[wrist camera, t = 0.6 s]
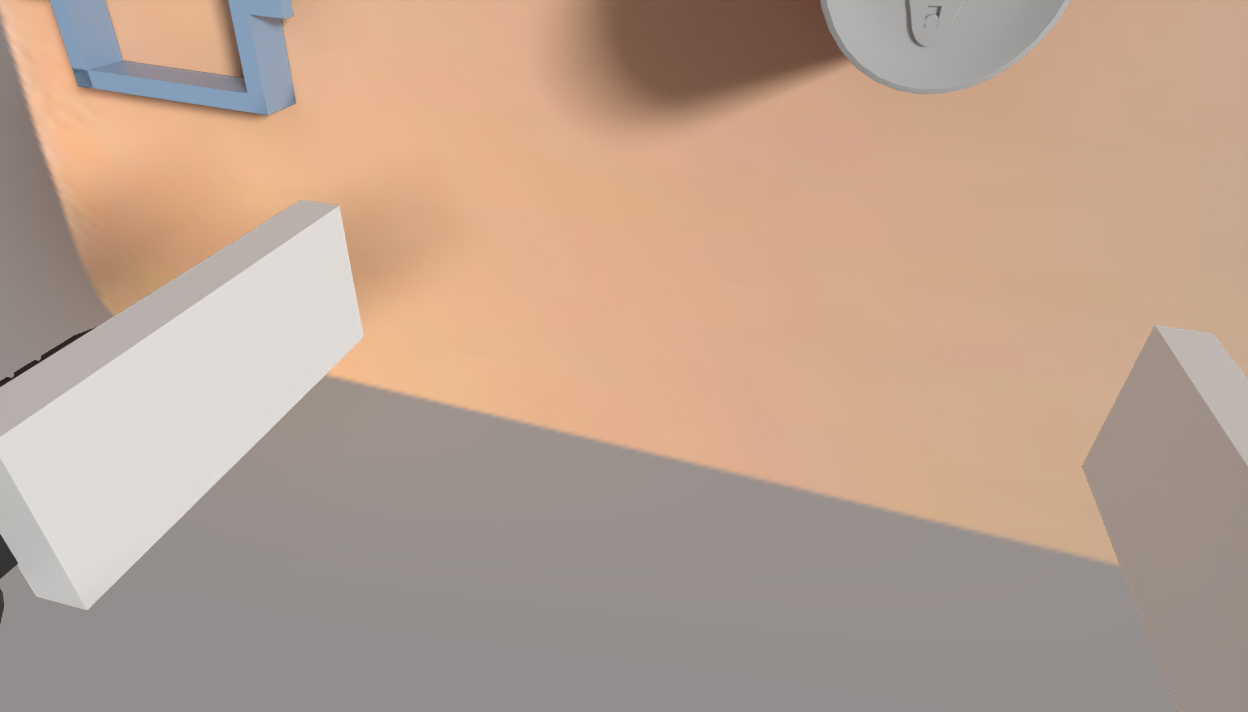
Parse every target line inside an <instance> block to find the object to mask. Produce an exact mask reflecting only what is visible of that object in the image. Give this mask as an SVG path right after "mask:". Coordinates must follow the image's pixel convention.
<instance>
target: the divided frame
mask: <svg viewBox="0 0 1248 712" xmlns="http://www.w3.org/2000/svg"><path fill="white" fill-rule="evenodd" d="M50 2H51V5H52V8H53V12H54V15H55V18H56V21H57V24H58V27H59V30H60V33H61V36H62V39H63V42H64V45H65V48H66V51H67V54H68V57H69V60H70V63H71V66H72V69H73V72H74V75H75V78H76V81H77V84H78V86H80V87H87V88H93V89H100V90H106V91H113V92H119V93H126V94H133V95H139V96H146V97H152V98H159V99H166V100H172V101H179V102H185V103H192V104H198V105H205V106H212V107H218V108H225V109H231V110H238V111H244V112H251V113H258V114H264V115H269V114H272V113H274V112H276V111H279V110H281V109H284V108H286V107H288V106H291V105H293V104H295V103H296V102H295V96H294V90H293V84H292V79H291V73H290V67H289V61H288V56H287V50H286V44H285V38H284V33H283V27H282V21H281V19H285V18H289V17H293V16H294V15H293V9H292V3H291V0H228V2H229V7H230V12H231V17H232V21H233V26H234V31H235V36H236V41H237V45H238V50H239V55H240V60H241V65H242V69H243V74H244V78H240V77H233V76H226V75H219V74H212V73H205V72H198V71H191V70H184V69H178V68H171V67H164V66H157V65H150V64H143V63H136V62H129V61H123V60H122V56H121V53H120V49H119V46H118V43H117V39H116V36H115V32H114V29H113V25H112V22H111V18H110V15H109V12H108V8H107V5H106V1H105V0H50Z"/></svg>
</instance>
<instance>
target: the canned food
mask: <svg viewBox="0 0 1248 712" xmlns="http://www.w3.org/2000/svg"><path fill="white" fill-rule="evenodd" d="M1069 2H1070V0H820V5H821V9H822V12H823V15H824V18H825V21H826V24H827V27H828V30H829V31H830V33H831V35H832V37H833V38H834V40H835V42H836V44H837V45H838V47H839V49H840V50H841V52H842V53H843V54H844V55H845V56H846V57H847V58H848V59H849V60H850V61H851V63H852V64H853V65H854V66H855V67H856V68H857V69H858V70H860V71H861V72H863V73H864V74H865V75H867V76H868V77H870V78H871V79H872V80H874V81H875V82H878V83H880V84H883V85H885V86H888V87H890V88H892V89H895V90H899V91H904V92H910V93H916V94H939V93H947V92H952V91H956V90H961V89H965V88H969V87H971V86H974V85H976V84H979V83H981V82H983V81H986V80H988V79H991V78H993V77H995V76H996V75H998V74H999V73H1001V72H1003V71H1004V70H1006V69H1007V68H1009V67H1010V66H1012V65H1014V64H1015V63H1017V62H1018V61H1019V60H1020V59H1022V58H1023V57H1024V56H1025V55H1026V54H1027V53H1028V52H1029V51H1031V50H1032V49H1033V48H1034V47H1035V46H1036V45H1037V44H1039V43H1040V42H1041V40H1042V39H1043V38H1044V37H1045V36H1046V34H1047V33H1048V32H1049V31H1050V30H1051V28H1052V27H1053V26H1054V25H1055V24H1056V22H1057V21H1058V20H1059V19H1060V17H1061V15H1062V14H1063V12H1064V10H1065V9H1066V7H1067V5H1068V4H1069Z"/></svg>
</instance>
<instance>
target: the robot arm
mask: <svg viewBox="0 0 1248 712" xmlns="http://www.w3.org/2000/svg"><path fill="white" fill-rule="evenodd" d="M363 337H364V336H363V331H362V325H361V320H360V315H359V309H358V304H357V298H356V293H355V287H354V282H353V277H352V271H351V266H350V260H349V255H348V250H347V244H346V239H345V233H344V228H343V223H342V217H341V212H340V206H339V205H332V204H325V203H319V202H312V201H305V200H300V201H298V202H296V203H295V204H293V205H292V206H290V207H288V208H287V209H285V210H284V211H282V212H280V213H279V214H277V215H276V216H274V217H272V218H271V219H269V220H268V221H266V222H264V223H263V224H261V225H260V226H258V227H256V228H255V229H253V230H252V231H250V232H248V233H247V234H245V235H244V236H242V237H240V238H239V239H237V240H235V241H234V242H232V243H231V244H229V245H227V246H226V247H224V248H223V249H221V250H219V251H218V252H216V253H215V254H213V255H211V256H210V257H208V258H207V259H205V260H203V261H202V262H200V263H199V264H197V265H195V266H194V267H192V268H191V269H189V270H187V271H186V272H184V273H183V274H181V275H179V276H178V277H176V278H175V279H173V280H171V281H170V282H168V283H167V284H165V285H163V286H162V287H160V288H159V289H157V290H155V291H154V292H152V293H151V294H149V295H147V296H146V297H144V298H143V299H141V300H139V301H138V302H136V303H135V304H133V305H131V306H130V307H128V308H126V309H125V310H123V311H122V312H120V313H118V314H117V315H115V316H114V317H112V318H110V319H109V320H108V321H106V322H104V323H102V324H101V325H99V326H98V327H95V328H93V329H90V330H87V331H85V332H82V333H80V334H77V335H74V336H73V337H71V338H69V339H68V340H66V341H65V342H63V343H61V344H60V345H58V346H56V347H55V348H53V349H52V350H50V351H48V352H47V353H45V354H44V355H42V356H41V360H40V361H37V360H34V361H32V362H31V363H29V364H27V365H26V366H24V367H22V368H21V369H19V370H18V371H16V372H14V377H13V378H9V377H6V378H5V379H3V380H1V381H0V578H2V577H3V576H4V575H5V574H6V573H7V572H9V571H10V570H11V569H12V568H13V567H14V566H16V565H17V566H18V567H19V569H20V571H21V572H22V574H23V575H24V577H25V579H26V580H27V582H28V583H29V585H30V587H31V588H32V590H33V592H34V593H35V595H36V596H37V597H41V598H45V599H48V600H52V601H55V602H59V603H63V604H66V605H70V606H74V607H77V608H81V609H85V610H88V609H89V608H90V607H91V606H92V605H93V604H94V603H95V602H96V601H97V600H98V599H99V598H100V597H101V596H102V595H103V594H104V593H105V592H106V591H107V590H108V589H109V588H110V587H111V586H112V585H113V584H114V583H115V582H116V581H117V580H118V579H119V578H120V577H121V576H122V575H123V574H124V573H125V572H126V571H127V570H128V569H129V568H130V567H131V566H132V565H133V564H134V563H135V562H136V561H137V560H138V559H139V558H140V557H141V556H142V555H143V554H144V553H145V552H146V551H147V550H148V549H149V548H150V547H151V546H152V545H154V544H155V542H157V541H158V540H159V538H160V537H162V536H163V535H164V534H165V533H166V532H167V531H168V530H169V529H170V528H171V527H172V526H173V525H174V524H175V523H176V522H177V521H178V520H179V519H180V518H181V517H182V516H183V515H184V514H185V513H186V512H187V511H188V510H189V509H190V508H191V507H192V506H193V505H194V504H195V503H196V502H197V501H198V500H199V499H200V498H201V497H202V496H203V495H204V494H205V493H206V492H207V491H208V490H209V489H210V488H211V487H212V486H213V485H214V484H215V483H216V482H217V481H218V480H219V479H220V478H221V477H222V476H223V475H224V474H225V473H226V472H227V471H228V470H229V469H230V468H231V467H232V466H234V465H235V463H236V462H237V461H238V460H239V459H241V457H243V455H244V454H246V453H247V452H248V451H249V450H250V449H251V448H252V447H253V446H254V445H255V444H256V443H257V442H258V441H259V440H260V439H261V438H262V437H263V436H264V435H265V434H266V433H267V432H268V431H269V430H270V429H271V428H272V427H273V426H274V425H275V424H276V423H277V422H278V421H279V420H280V419H281V418H282V417H283V416H284V415H285V414H286V413H287V412H288V411H289V410H290V409H291V408H292V407H293V406H294V405H295V404H296V403H297V402H298V401H299V400H300V399H301V398H302V397H303V396H304V395H305V394H306V393H307V392H308V391H309V390H310V389H311V388H312V387H313V386H314V385H316V384H317V383H318V382H319V380H320V379H322V377H324V376H325V375H326V374H327V373H328V372H329V371H330V370H331V369H332V368H333V367H334V366H335V365H336V364H337V363H338V362H339V361H340V360H341V359H342V358H343V357H344V356H345V355H346V354H347V353H348V352H349V351H350V350H351V349H352V348H353V347H354V346H355V345H356V344H357V343H358V342H359V341H360V340H361V339H362V338H363ZM1082 468H1083V470H1084V473H1085V475H1086V478H1087V481H1088V483H1089V486H1090V488H1091V491H1092V494H1093V496H1094V499H1095V501H1096V504H1097V507H1098V509H1099V512H1100V514H1101V517H1102V520H1103V522H1104V525H1105V527H1106V530H1107V533H1108V535H1109V538H1110V540H1111V543H1112V546H1113V548H1114V551H1115V553H1116V556H1117V559H1118V561H1119V564H1120V566H1121V569H1122V571H1123V574H1124V577H1125V579H1126V582H1127V585H1128V587H1129V590H1130V592H1131V595H1132V598H1133V600H1134V602H1135V605H1136V608H1137V610H1138V613H1139V615H1140V618H1141V621H1142V624H1143V626H1144V629H1145V631H1146V634H1147V637H1148V639H1149V642H1150V644H1151V647H1152V649H1153V652H1154V655H1155V657H1156V660H1157V663H1158V665H1159V668H1160V670H1161V673H1162V676H1163V678H1164V681H1165V683H1166V686H1167V689H1168V691H1169V694H1170V696H1171V699H1172V701H1173V704H1174V707H1175V709H1176V712H1248V378H1247V377H1246V375H1245V374H1244V373H1243V371H1242V370H1241V369H1240V368H1239V366H1238V365H1237V364H1236V362H1235V361H1234V360H1233V358H1232V357H1231V356H1230V355H1229V353H1228V352H1227V351H1226V349H1225V348H1224V347H1223V345H1222V344H1221V343H1220V342H1219V340H1218V339H1217V338H1216V336H1215V335H1214V334H1213V333H1207V332H1200V331H1193V330H1186V329H1180V328H1173V327H1166V326H1159V325H1154V327H1153V329H1152V331H1151V333H1150V335H1149V337H1148V339H1147V341H1146V343H1145V345H1144V347H1143V349H1142V351H1141V353H1140V354H1139V356H1138V358H1137V360H1136V362H1135V364H1134V366H1133V368H1132V370H1131V372H1130V374H1129V376H1128V378H1127V380H1126V382H1125V384H1124V386H1123V387H1122V389H1121V391H1120V393H1119V395H1118V397H1117V399H1116V401H1115V403H1114V405H1113V407H1112V409H1111V411H1110V413H1109V415H1108V417H1107V419H1106V421H1105V422H1104V424H1103V426H1102V428H1101V430H1100V432H1099V434H1098V436H1097V438H1096V440H1095V442H1094V444H1093V446H1092V448H1091V450H1090V452H1089V454H1088V456H1087V457H1086V459H1085V461H1084V463H1083V465H1082ZM3 609H4V600H3V593H2V591H1V589H0V623H1V617H2V613H3Z"/></svg>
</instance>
